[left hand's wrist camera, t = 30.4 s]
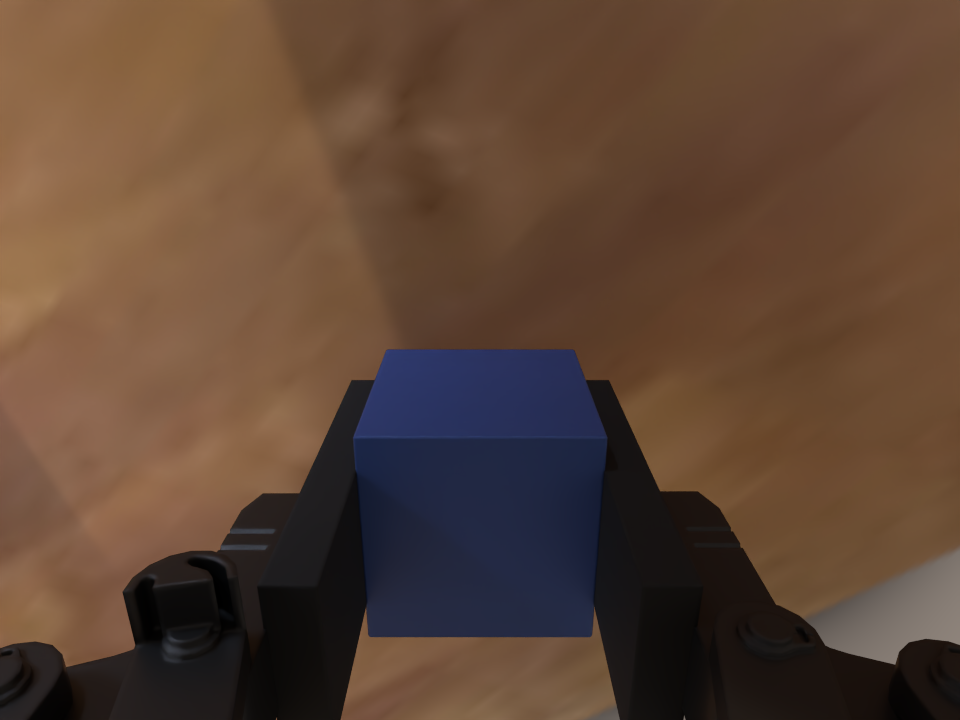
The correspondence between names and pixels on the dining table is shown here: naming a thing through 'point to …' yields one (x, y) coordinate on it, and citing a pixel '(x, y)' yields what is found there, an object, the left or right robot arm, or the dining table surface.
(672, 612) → the left robot arm
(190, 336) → the dining table surface
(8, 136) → the dining table surface
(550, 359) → the block
